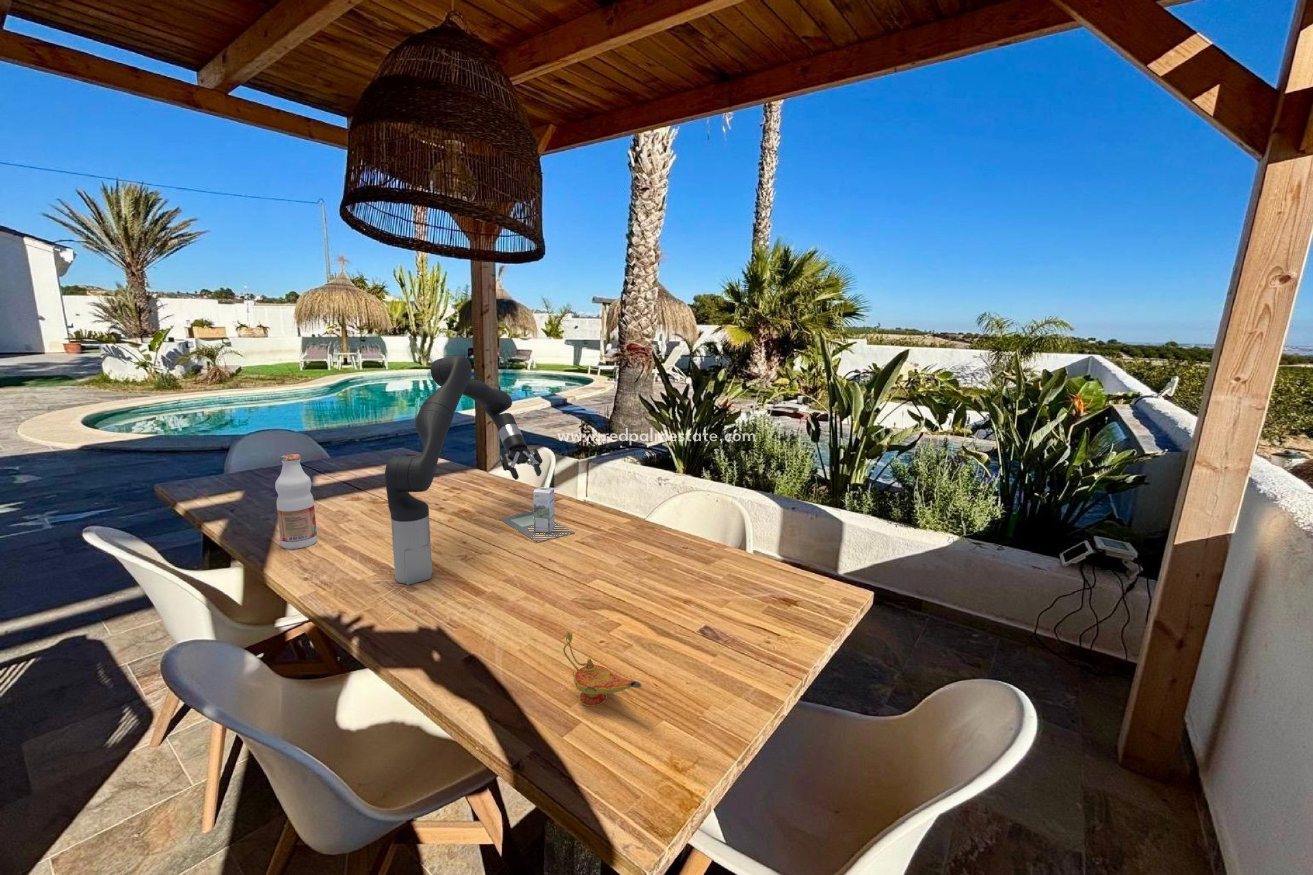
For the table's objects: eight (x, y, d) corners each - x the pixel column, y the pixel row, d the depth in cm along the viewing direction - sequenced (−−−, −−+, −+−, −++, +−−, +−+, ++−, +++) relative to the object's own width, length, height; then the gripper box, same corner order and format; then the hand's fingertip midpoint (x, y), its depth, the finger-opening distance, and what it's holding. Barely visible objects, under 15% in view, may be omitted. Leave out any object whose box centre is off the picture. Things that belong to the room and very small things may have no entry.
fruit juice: (274, 546, 161) (263, 457, 156) (304, 536, 170) (296, 451, 165) (294, 551, 158) (284, 460, 152) (324, 541, 166) (316, 454, 161)
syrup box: (555, 527, 182) (554, 487, 179) (550, 533, 176) (549, 492, 174) (538, 526, 183) (538, 486, 180) (533, 532, 177) (532, 491, 174)
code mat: (574, 533, 178) (574, 532, 178) (537, 542, 169) (537, 542, 169) (534, 511, 199) (534, 511, 199) (499, 519, 190) (499, 518, 190)
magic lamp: (628, 732, 89) (629, 673, 87) (550, 691, 98) (550, 637, 96) (651, 709, 94) (652, 653, 92) (575, 673, 104) (575, 621, 102)
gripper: (496, 435, 183) (512, 473, 177) (533, 431, 193) (550, 468, 186) (490, 447, 188) (506, 485, 182) (527, 443, 198) (542, 479, 191)
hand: (528, 476), depth 184 cm, fingers open, 8 cm apart
